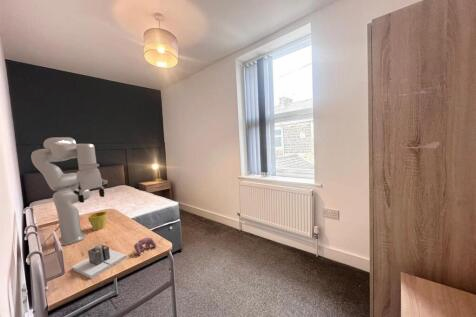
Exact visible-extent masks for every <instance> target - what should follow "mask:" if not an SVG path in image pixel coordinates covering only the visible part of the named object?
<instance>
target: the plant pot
mask: <svg viewBox="0 0 476 317" xmlns="http://www.w3.org/2000/svg"><path fill="white" fill-rule="evenodd" d="M87 218H88V222H89V223H90V225H91V227H92V229H93V231H100V230H102V229H105V227H106V224H107V223H106V222H107V218H108V213H107V211H98V212H94V213H92V214H90V215H88V216H87Z"/></svg>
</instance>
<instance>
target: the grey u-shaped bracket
mask: <svg viewBox="0 0 476 317" xmlns="http://www.w3.org/2000/svg"><path fill="white" fill-rule="evenodd" d="M100 245H102V250H103V258H105V260H108V259H110V254H109V249H110V248H109V247H110V246H108V245H105V244H100ZM87 253H88V258H89V262H90V263H91V264H94V265H96V266H97V265H99V264H101V258H100V251H96V252H95V247H93V248H91V249H89V250H87Z"/></svg>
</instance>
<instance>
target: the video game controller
mask: <svg viewBox="0 0 476 317" xmlns="http://www.w3.org/2000/svg"><path fill="white" fill-rule="evenodd" d="M151 246H152V247H153V248H155V249H156V248H157V244H156V242H155V240H154V239H153V238H151V237H145V238H142V239H140V240H138V241H137V242H135V243H134V246H133V248H134V250H135V252H136V254H137V255H139V256H142V252H143V251H145V249H149V248H151Z"/></svg>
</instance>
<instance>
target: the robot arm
mask: <svg viewBox="0 0 476 317" xmlns="http://www.w3.org/2000/svg"><path fill="white" fill-rule="evenodd" d="M42 145H43V148H41V149H36V150H34V151H32V153H31V155H30V158H31V162H32V164H33V166H34V167H35V168H36V169H37V170H38V172H40V173H41V174H42V175H43V178H44V179H45V181H46V183H47V186H49V189H51V190H52V191H54V193H53V195H52V200H53V203H54V206H55V209H56V213H57V214H56V215H57V219H58V227H59V234H60V238H61V239H59V241H60V243H61V244H62V245H61V246H67V245H73V244H75V243H78V242H80V241H82V240H84V239H85V238H86V234H85V233H84V232H82V226H81V220H80V213H79V209H78V207H77V206H75V205H74V204H76V203H82V204H83V203H85V201H86V200H89V199H90V197H91V191H90V190H93V189H97V188H98V194H99V197H100V198H101V197H102V198H104V197H105V189H106V187H107V186H108V182H109V181H108V179H104V178H102V174H101V172H100V169H99V168H98V167H100V164H99V163H97V156H96V149H95V145H94V144H92V143H77V142H76V139H74V138H72V137H68V136H67V137H66V136H65V137H63V136H62V137H58V136H57V137H49V138H46V139H45V140H44V142H43V144H42ZM71 159H77V166H78V170H77V171H76V172H69V173H64V172H63V170H62V169H61V168H60V167H59V166H58V165H56V164H54V163H57V162H64V161H67V160H71Z"/></svg>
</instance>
